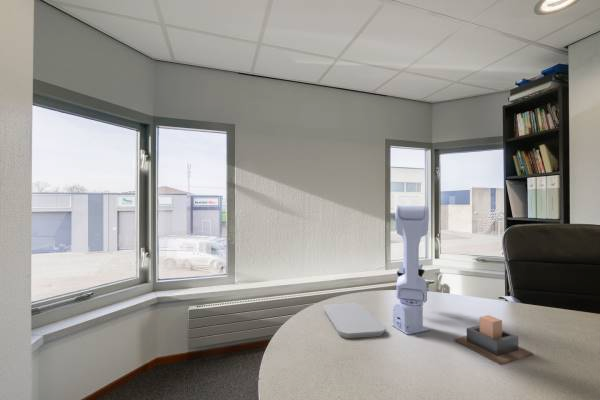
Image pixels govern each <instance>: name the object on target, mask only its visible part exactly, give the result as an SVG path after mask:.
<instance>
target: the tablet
mask: <svg viewBox="0 0 600 400" xmlns="http://www.w3.org/2000/svg"><path fill="white" fill-rule="evenodd" d="M322 309H323V312H324V313H325V315H326V316H327V318H328V319H329V321H330V322H331V324H332V325H333V327H334V328H335V330H336V331H337V333H338V335H339V336H340V337H342V338H344V339H354V338H366V337H367V338H370V337H381V336H383V335H384V333H385V332H386V327H385V326H384V325H383V324H382V322H381V321H380V320H378V319H377V318H376V317H375V316H374V315H373V314H372V313H371V312H370V311H368V309H367V308H366V307H364V305H362V303H361V304H360V303H356V302H349V303H348V302H346V303H329V304H324V305H323V306H322Z"/></svg>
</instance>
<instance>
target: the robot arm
mask: <svg viewBox="0 0 600 400" xmlns="http://www.w3.org/2000/svg"><path fill="white" fill-rule="evenodd" d="M394 212H395V213H394V214H395V215H394V219H395V220H394V221H395V230H396V234H398V235H400V236H401V237H402V240H403V241H402V242H403V246H402V247H403V248H402V250H403V252H402V253H403V257H402V258H403V259H402V260H403V263H402V265H401V266H399V267H398V270H397V271H396V274H397V279H396V290H395V291H396V299H397V300H399V302H398V303H395V304H394V305H393V306H392V307H393V309H392V323H391V326H392V327H394V328H396V329H397V330H399V331H400V332H402V333H404V334H406V335H412V334H417V333H421V332H422V333H423V332H427V331H429V328H428V327H427V326H425V325H424V320H423V319H424V318H423V317H424V315H423V314H424V313H423V312H424V311H423V310H424V309H423V308H424V307H423V306H424V304H425V303H427V301H428V288H427V286H428V284H427V281H426V279H425V278H423V275H424V274H425V271H426V270H425V269H423V263H421V262H420V258H419V257H420V256H419V254H420V251H419V247H420V242H421V239H422V238H423V237H424V236H427V235H428V231H429V219H430V214H429V212H430V211H429V207H428V206H427V205H395V209H394ZM419 262H420V263H419Z"/></svg>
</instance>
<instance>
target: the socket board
mask: <svg viewBox="0 0 600 400" xmlns="http://www.w3.org/2000/svg"><path fill="white" fill-rule="evenodd" d="M454 342H457V343H458V344H460V345H462V346H464V347H466V348H468V349H469V350H471V351H474V352H476V353H478V354H479V355H481V356H483V357H485V358H487V359H488V360H490V361H493V362H494V363H496V364H498V365H503V364H507V363H509V362H510V363H511V362H514V361H517V360H520V359H523V358H527V357H530V356H533V355H534V353H533V352H532V351H530V350H527V349H525V348H523V347H520V346H519V336H518V335H515V334H514V333H511V332H508V331H506V330H504V329H502V338H499V339H494V338H492V337H489V336H487V335H485V334H483V333H480V324H479V325H475V326H471V327H466V336H461V337H456V338H454Z"/></svg>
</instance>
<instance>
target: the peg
mask: <svg viewBox="0 0 600 400" xmlns="http://www.w3.org/2000/svg"><path fill="white" fill-rule="evenodd" d="M479 325H480V333H483V334H485V335H487V336H489V337H492V338H494V339H499V338H502V330H503V320H502V319H501V318H497V317H494V316H493V315H489V314H487V315H484V316H479Z"/></svg>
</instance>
